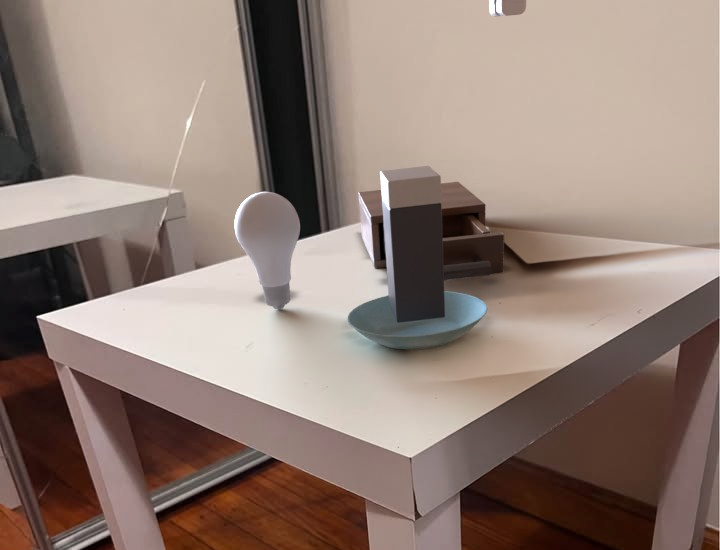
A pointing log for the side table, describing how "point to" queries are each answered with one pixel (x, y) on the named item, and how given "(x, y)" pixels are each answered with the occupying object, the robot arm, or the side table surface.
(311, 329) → the side table surface
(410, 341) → the saucer
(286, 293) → the lightbulb
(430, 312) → the two-tone tall pillar
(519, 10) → the robot arm
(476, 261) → the drawer
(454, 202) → the cabinet
